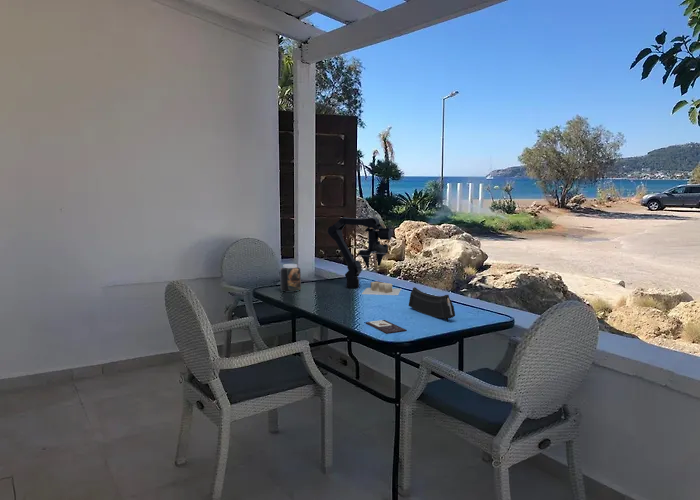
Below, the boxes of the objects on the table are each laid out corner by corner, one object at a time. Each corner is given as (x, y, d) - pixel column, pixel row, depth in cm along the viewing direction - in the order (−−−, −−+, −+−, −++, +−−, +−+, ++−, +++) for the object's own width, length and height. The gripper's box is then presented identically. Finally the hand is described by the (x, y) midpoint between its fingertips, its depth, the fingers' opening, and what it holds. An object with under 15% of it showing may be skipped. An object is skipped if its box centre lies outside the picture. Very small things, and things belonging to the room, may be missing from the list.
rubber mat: (361, 295, 266) (361, 294, 266) (366, 288, 285) (366, 287, 284) (398, 296, 262) (398, 295, 262) (401, 289, 281) (401, 288, 281)
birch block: (370, 282, 276) (386, 285, 267) (376, 281, 279) (392, 283, 270) (370, 290, 276) (386, 293, 268) (376, 289, 279) (392, 292, 271)
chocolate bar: (386, 332, 190) (365, 322, 206) (386, 335, 190) (365, 324, 206) (406, 329, 194) (384, 319, 210) (406, 332, 194) (384, 322, 210)
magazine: (405, 289, 234) (443, 279, 208) (411, 288, 236) (449, 279, 209) (411, 325, 232) (450, 320, 205) (417, 324, 233) (456, 319, 207)
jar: (277, 292, 277) (276, 265, 275) (285, 288, 288) (285, 263, 287) (296, 293, 274) (295, 266, 272) (304, 289, 285) (303, 263, 283)
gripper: (372, 241, 268) (372, 269, 270) (394, 239, 281) (394, 266, 283) (357, 240, 276) (358, 267, 278) (380, 238, 289) (380, 264, 291)
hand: (373, 266), depth 282 cm, fingers open, 9 cm apart
